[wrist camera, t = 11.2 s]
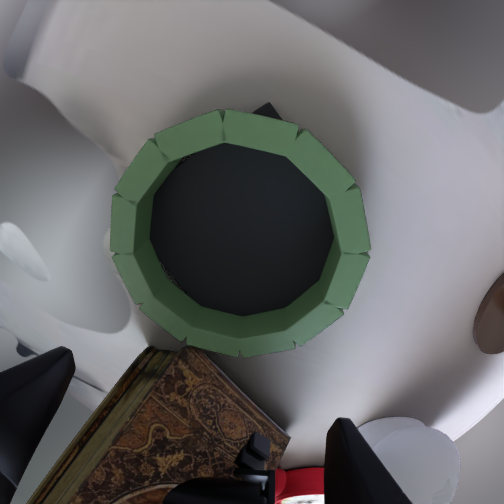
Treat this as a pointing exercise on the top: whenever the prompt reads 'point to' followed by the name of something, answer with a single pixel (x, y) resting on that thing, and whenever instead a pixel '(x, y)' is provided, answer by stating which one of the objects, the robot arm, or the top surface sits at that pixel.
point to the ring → (216, 322)
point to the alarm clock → (299, 486)
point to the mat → (241, 228)
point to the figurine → (415, 458)
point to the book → (159, 434)
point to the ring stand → (491, 320)
